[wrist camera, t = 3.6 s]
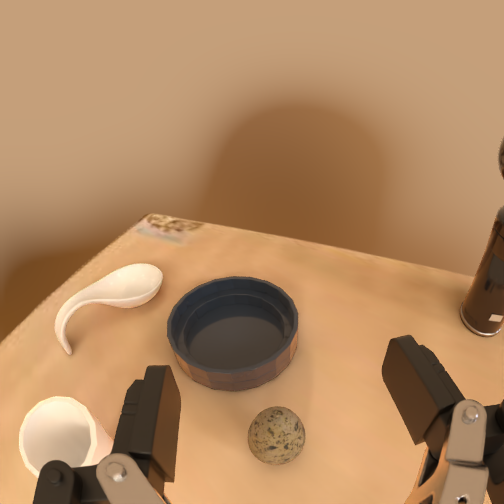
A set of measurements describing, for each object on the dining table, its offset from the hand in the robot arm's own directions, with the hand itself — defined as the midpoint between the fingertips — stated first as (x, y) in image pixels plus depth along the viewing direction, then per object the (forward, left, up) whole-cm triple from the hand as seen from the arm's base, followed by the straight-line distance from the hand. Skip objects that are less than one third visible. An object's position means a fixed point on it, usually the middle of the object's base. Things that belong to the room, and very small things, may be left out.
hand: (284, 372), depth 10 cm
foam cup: (+19, -3, -26) cm, 33 cm away
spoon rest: (+22, -33, -26) cm, 48 cm away
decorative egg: (-1, -5, -26) cm, 27 cm away
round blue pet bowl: (+1, -23, -26) cm, 35 cm away
